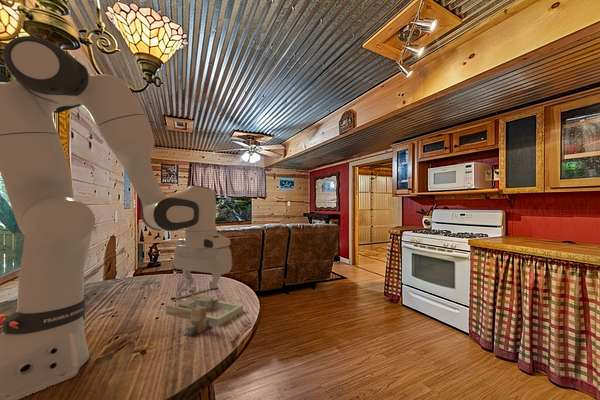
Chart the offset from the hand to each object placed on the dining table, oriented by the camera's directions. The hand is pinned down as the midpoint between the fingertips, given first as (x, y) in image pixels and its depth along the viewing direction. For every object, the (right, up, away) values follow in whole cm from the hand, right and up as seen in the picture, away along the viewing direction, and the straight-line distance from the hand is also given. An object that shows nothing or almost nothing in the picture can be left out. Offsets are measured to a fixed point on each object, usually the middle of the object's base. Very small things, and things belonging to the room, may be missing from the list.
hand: (201, 285), depth 77 cm
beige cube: (-5, -14, +16) cm, 22 cm away
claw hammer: (-14, -15, +33) cm, 39 cm away
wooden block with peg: (-1, -13, -1) cm, 13 cm away
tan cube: (-10, -14, +13) cm, 21 cm away
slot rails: (-9, -14, +15) cm, 22 cm away
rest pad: (-1, -13, -1) cm, 13 cm away
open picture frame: (+1, -14, +10) cm, 17 cm away
